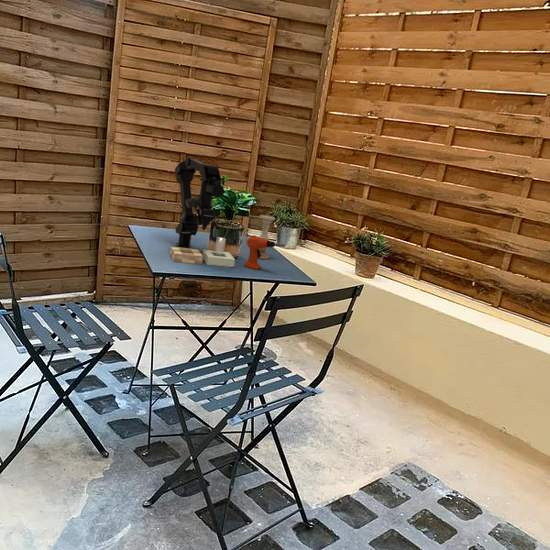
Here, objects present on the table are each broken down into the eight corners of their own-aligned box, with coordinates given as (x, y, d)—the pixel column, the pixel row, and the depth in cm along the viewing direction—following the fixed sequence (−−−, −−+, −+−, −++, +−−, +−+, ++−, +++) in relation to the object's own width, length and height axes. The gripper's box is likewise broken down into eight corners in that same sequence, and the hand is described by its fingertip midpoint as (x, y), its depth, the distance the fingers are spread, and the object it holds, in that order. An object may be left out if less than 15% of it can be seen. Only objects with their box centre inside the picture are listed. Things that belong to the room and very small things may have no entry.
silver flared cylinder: (212, 260, 244) (215, 236, 242) (220, 261, 246) (224, 237, 243) (214, 262, 241) (217, 238, 238) (222, 263, 242) (226, 239, 239)
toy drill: (281, 273, 237) (283, 239, 234) (242, 268, 244) (243, 235, 241) (285, 271, 242) (287, 238, 239) (247, 266, 249) (248, 233, 245)
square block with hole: (202, 257, 247) (203, 249, 246) (227, 259, 251) (228, 252, 250) (207, 264, 236) (208, 256, 235) (233, 267, 240) (235, 259, 239)
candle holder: (248, 254, 269) (255, 213, 264) (264, 254, 273) (271, 215, 268) (256, 259, 262) (263, 217, 256) (272, 259, 266) (279, 219, 261)
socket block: (169, 254, 242) (170, 246, 241) (196, 256, 246) (197, 249, 245) (173, 261, 231) (174, 253, 230) (201, 264, 235) (202, 256, 234)
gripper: (185, 187, 247) (180, 221, 251) (192, 194, 230) (187, 230, 234) (209, 190, 251) (204, 223, 255) (217, 197, 234) (212, 232, 238)
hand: (201, 227), depth 245 cm, fingers open, 9 cm apart
